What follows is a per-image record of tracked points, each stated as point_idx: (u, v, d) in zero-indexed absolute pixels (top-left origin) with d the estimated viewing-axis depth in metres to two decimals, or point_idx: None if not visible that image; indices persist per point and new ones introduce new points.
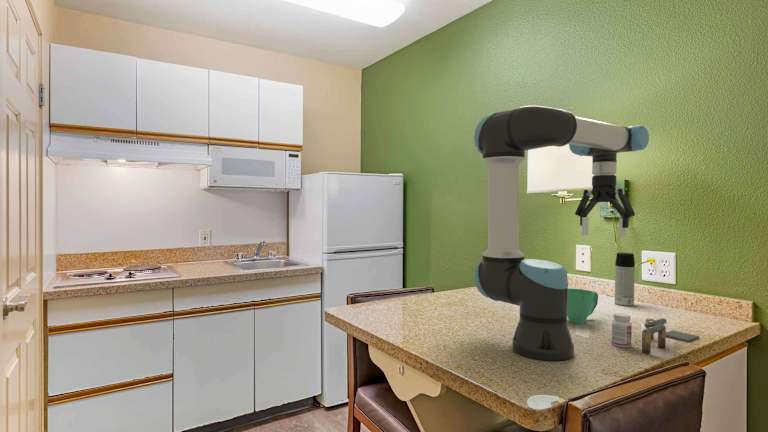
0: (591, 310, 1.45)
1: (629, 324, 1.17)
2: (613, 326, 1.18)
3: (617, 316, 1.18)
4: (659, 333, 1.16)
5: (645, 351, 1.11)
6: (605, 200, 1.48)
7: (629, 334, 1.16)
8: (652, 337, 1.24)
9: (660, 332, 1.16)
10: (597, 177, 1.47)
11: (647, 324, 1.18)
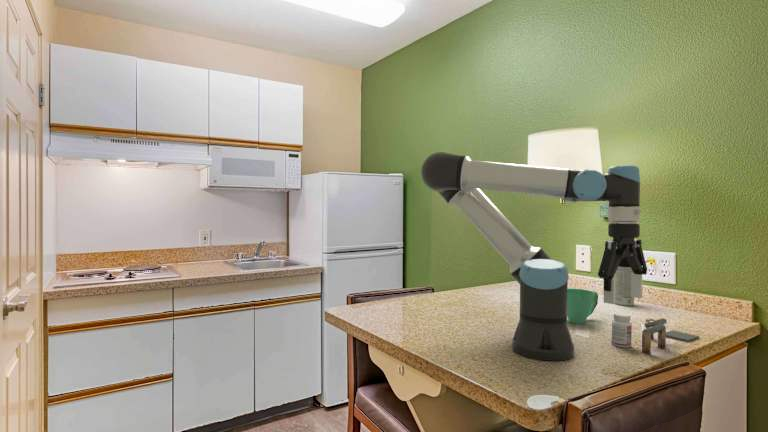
0: (591, 310, 1.45)
1: (629, 324, 1.17)
2: (613, 326, 1.18)
3: (617, 316, 1.18)
4: (659, 333, 1.16)
5: (645, 351, 1.11)
6: None
7: (629, 334, 1.16)
8: (652, 337, 1.24)
9: (660, 332, 1.16)
10: None
11: (647, 324, 1.18)
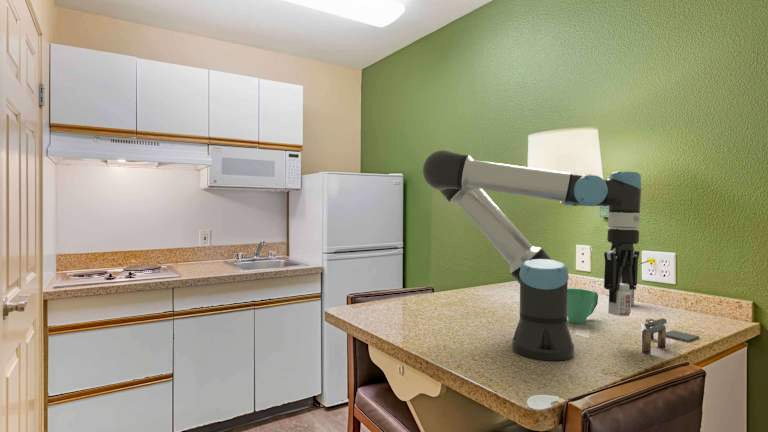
0: (591, 310, 1.45)
1: (628, 293, 1.16)
2: None
3: None
4: (659, 333, 1.16)
5: (645, 351, 1.11)
6: None
7: (628, 303, 1.16)
8: (652, 337, 1.24)
9: (660, 332, 1.16)
10: None
11: (647, 324, 1.18)
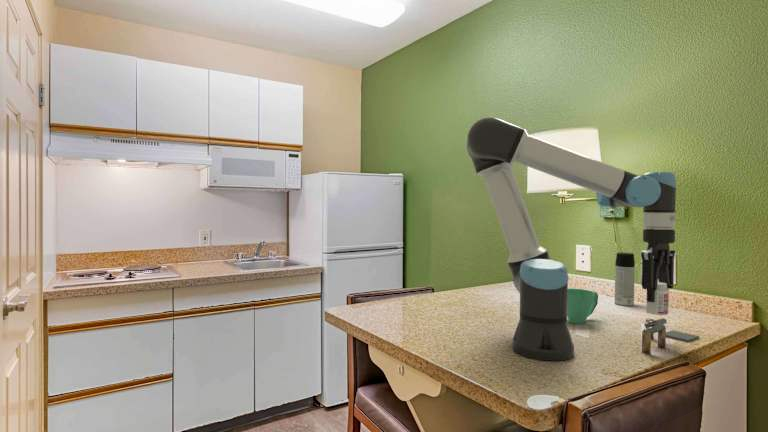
0: (591, 310, 1.45)
1: (666, 292, 1.18)
2: None
3: None
4: (659, 333, 1.16)
5: (645, 351, 1.11)
6: None
7: (666, 302, 1.17)
8: (652, 337, 1.24)
9: (660, 332, 1.16)
10: None
11: (647, 324, 1.18)
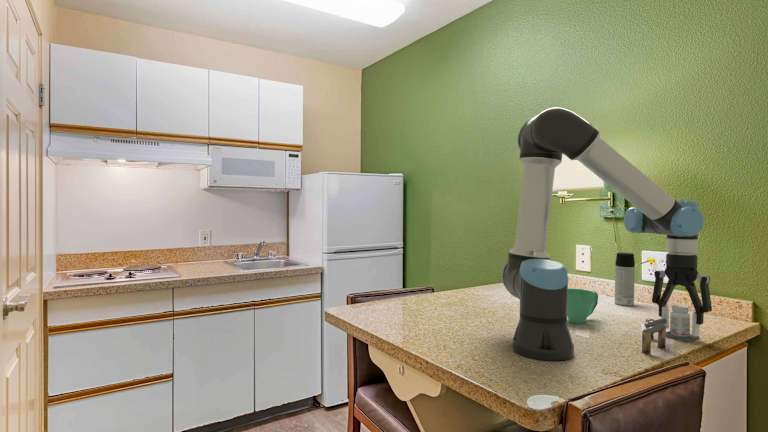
0: (591, 310, 1.45)
1: None
2: (685, 319, 1.24)
3: (687, 308, 1.24)
4: (659, 333, 1.16)
5: (645, 351, 1.11)
6: (684, 284, 1.24)
7: None
8: (652, 337, 1.24)
9: (660, 332, 1.16)
10: (675, 257, 1.24)
11: (647, 324, 1.18)
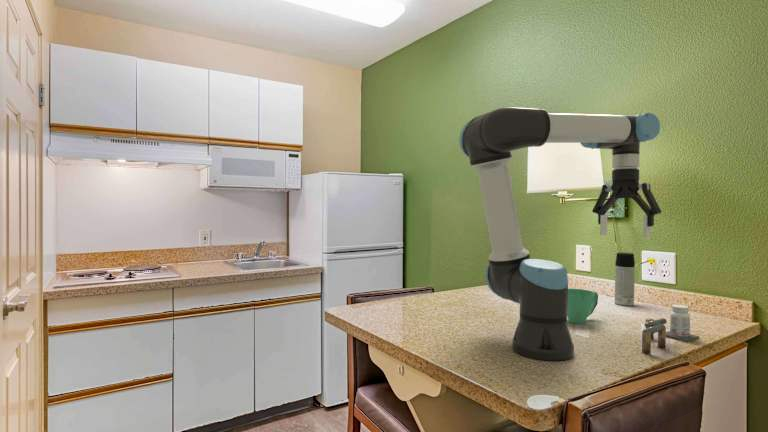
0: (591, 310, 1.45)
1: None
2: (686, 319, 1.24)
3: (687, 308, 1.24)
4: (659, 333, 1.16)
5: (645, 351, 1.11)
6: (627, 196, 1.35)
7: None
8: (652, 337, 1.24)
9: (660, 332, 1.16)
10: (618, 171, 1.34)
11: (647, 324, 1.18)
